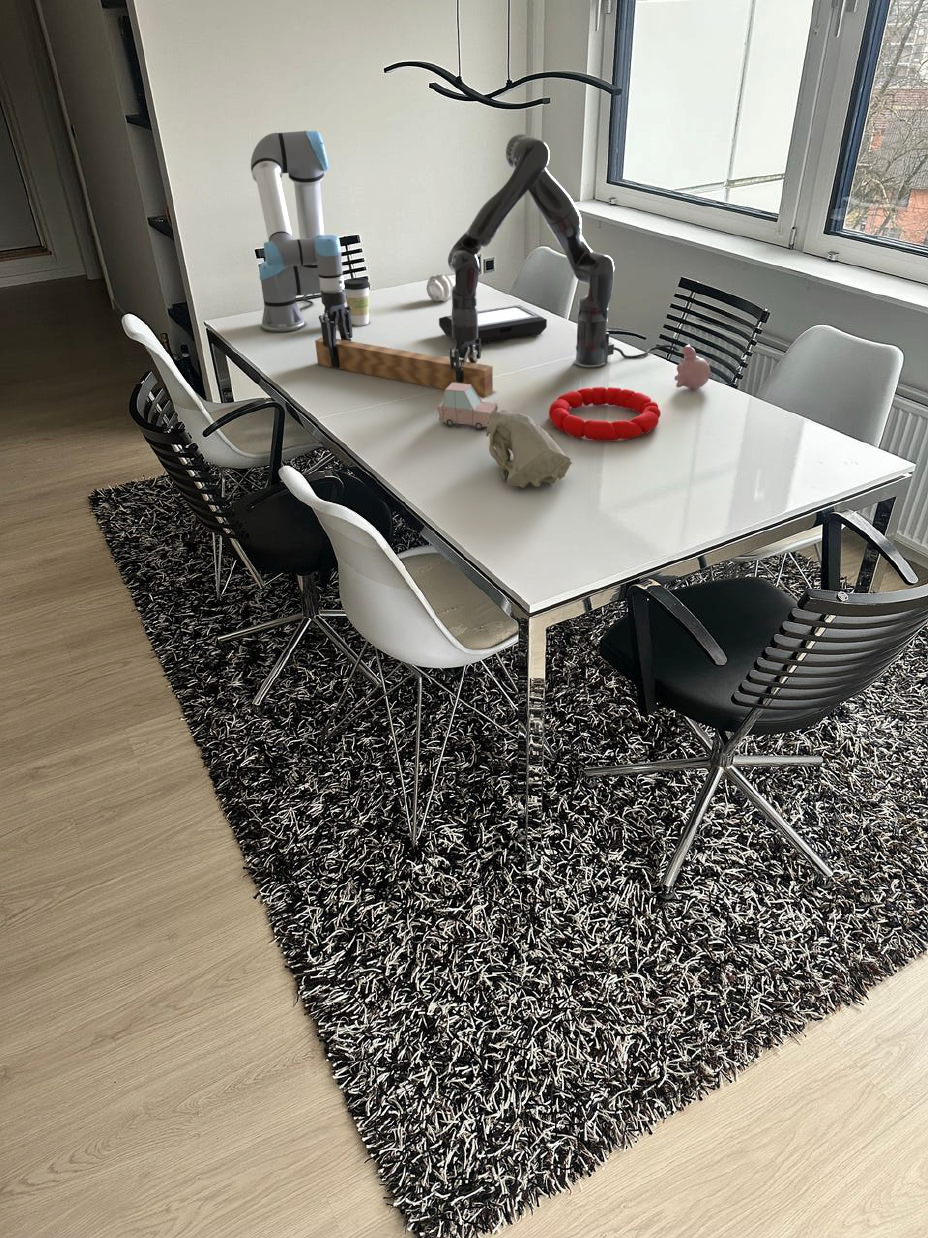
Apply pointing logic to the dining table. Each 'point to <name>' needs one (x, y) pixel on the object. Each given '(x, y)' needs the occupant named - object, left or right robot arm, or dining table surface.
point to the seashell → (440, 287)
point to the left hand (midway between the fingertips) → (340, 364)
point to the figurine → (692, 370)
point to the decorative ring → (604, 428)
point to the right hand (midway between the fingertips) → (466, 378)
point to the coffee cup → (358, 299)
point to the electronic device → (502, 324)
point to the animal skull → (525, 450)
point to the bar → (405, 366)
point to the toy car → (465, 406)
